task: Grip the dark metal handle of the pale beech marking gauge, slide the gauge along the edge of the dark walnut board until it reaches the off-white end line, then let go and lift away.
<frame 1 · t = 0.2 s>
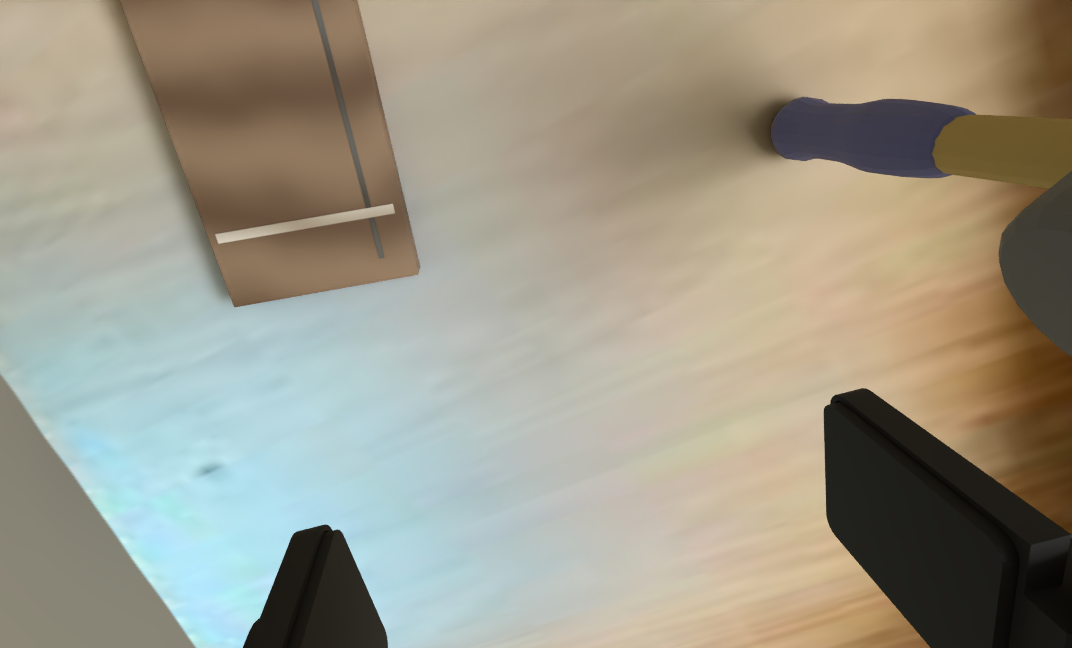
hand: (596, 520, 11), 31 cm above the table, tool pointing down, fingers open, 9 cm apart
rubber mallet: (787, 128, 40), on the table
walnut board: (275, 87, 35), on the table
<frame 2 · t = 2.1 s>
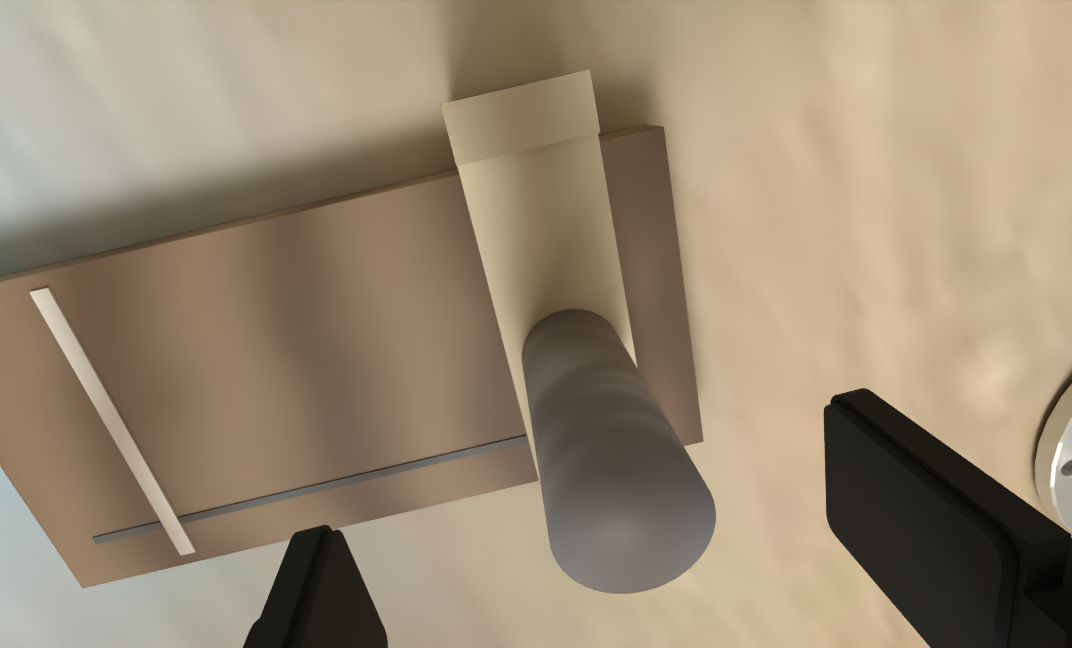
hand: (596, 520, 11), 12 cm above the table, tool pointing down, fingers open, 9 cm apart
marking gauge: (578, 367, 16), point 6 cm above the table, slide at -8.0 cm
walnut board: (354, 358, 22), on the table
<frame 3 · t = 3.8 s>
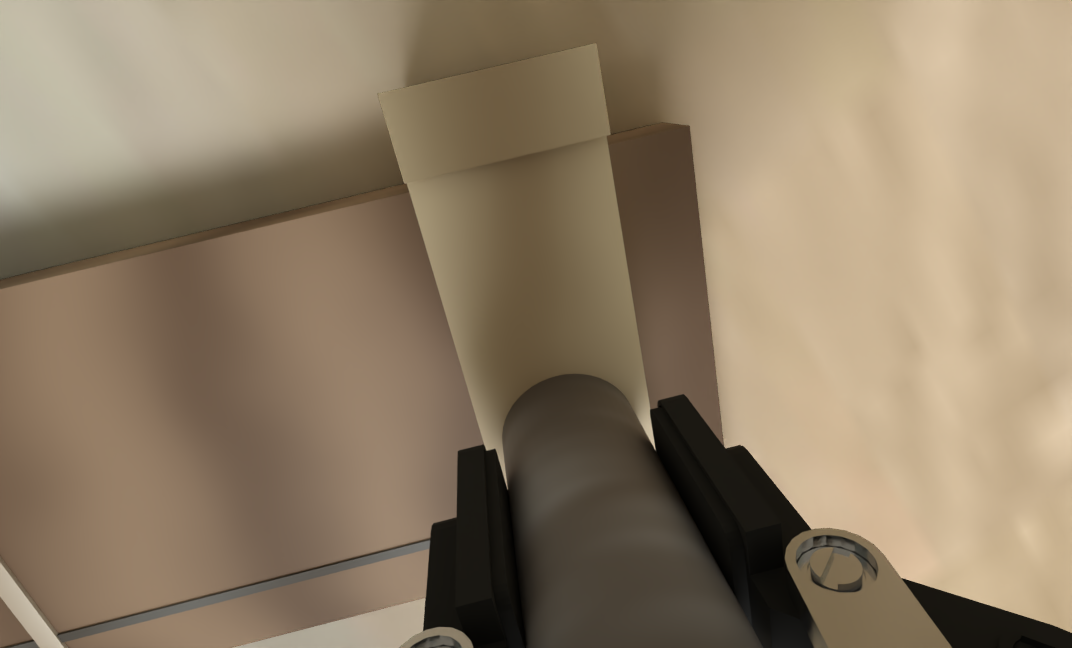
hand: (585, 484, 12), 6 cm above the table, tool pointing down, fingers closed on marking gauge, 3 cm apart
marking gauge: (581, 465, 12), point 6 cm above the table, slide at -8.0 cm, touching gripper
walnut board: (288, 422, 17), on the table
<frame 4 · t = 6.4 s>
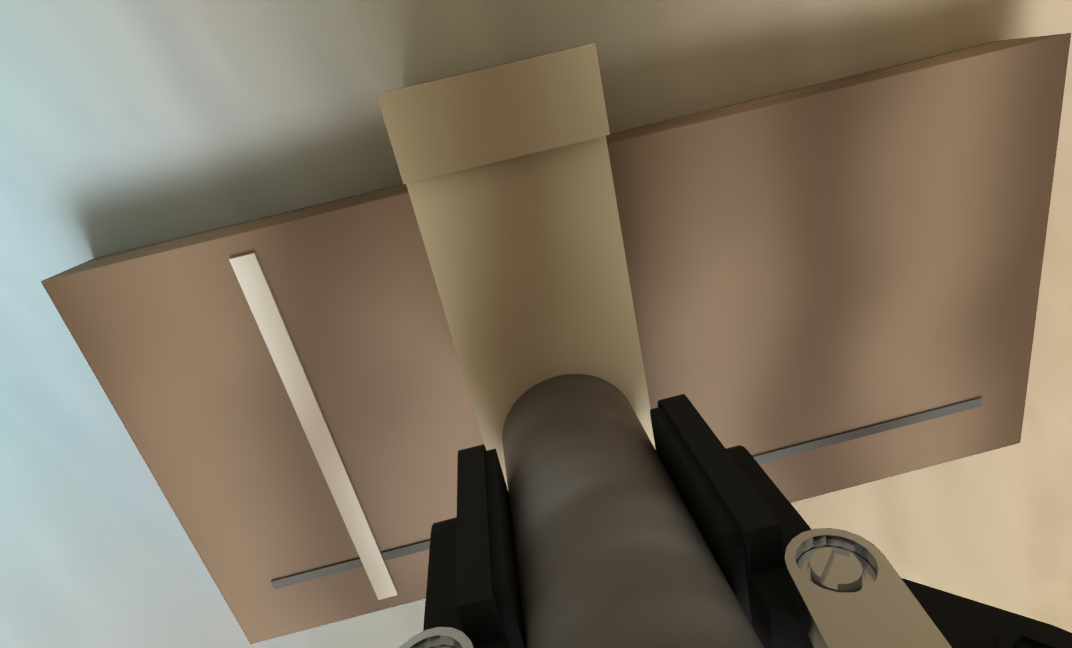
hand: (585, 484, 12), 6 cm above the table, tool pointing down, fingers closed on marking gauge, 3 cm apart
marking gauge: (581, 465, 12), point 6 cm above the table, slide at 1.6 cm, touching gripper
walnut board: (595, 346, 18), on the table
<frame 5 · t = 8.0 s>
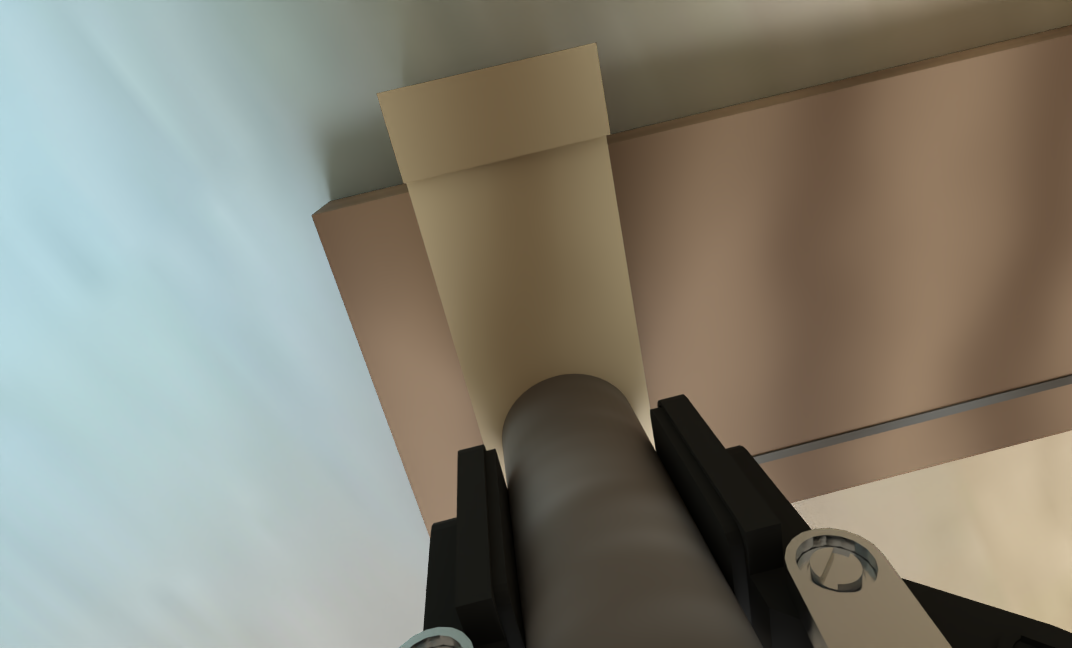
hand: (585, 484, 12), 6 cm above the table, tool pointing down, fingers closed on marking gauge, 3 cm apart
marking gauge: (581, 465, 12), point 6 cm above the table, slide at 7.9 cm, touching gripper
walnut board: (793, 297, 18), on the table
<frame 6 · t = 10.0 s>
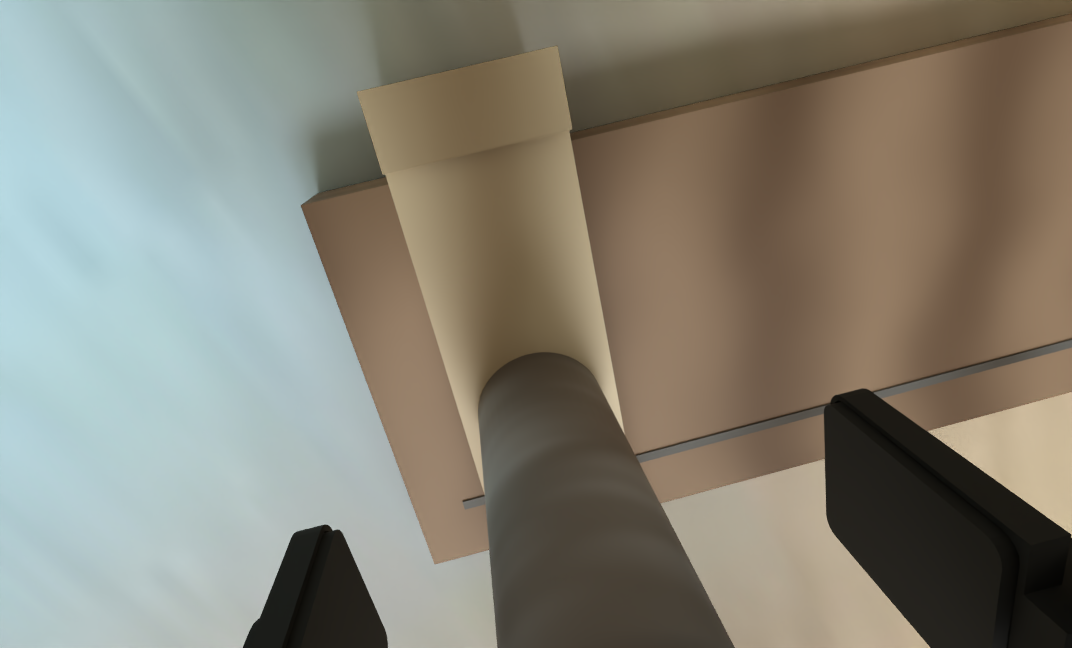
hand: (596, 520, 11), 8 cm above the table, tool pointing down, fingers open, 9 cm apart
marking gauge: (548, 434, 13), point 6 cm above the table, slide at 8.0 cm
walnut board: (756, 283, 19), on the table
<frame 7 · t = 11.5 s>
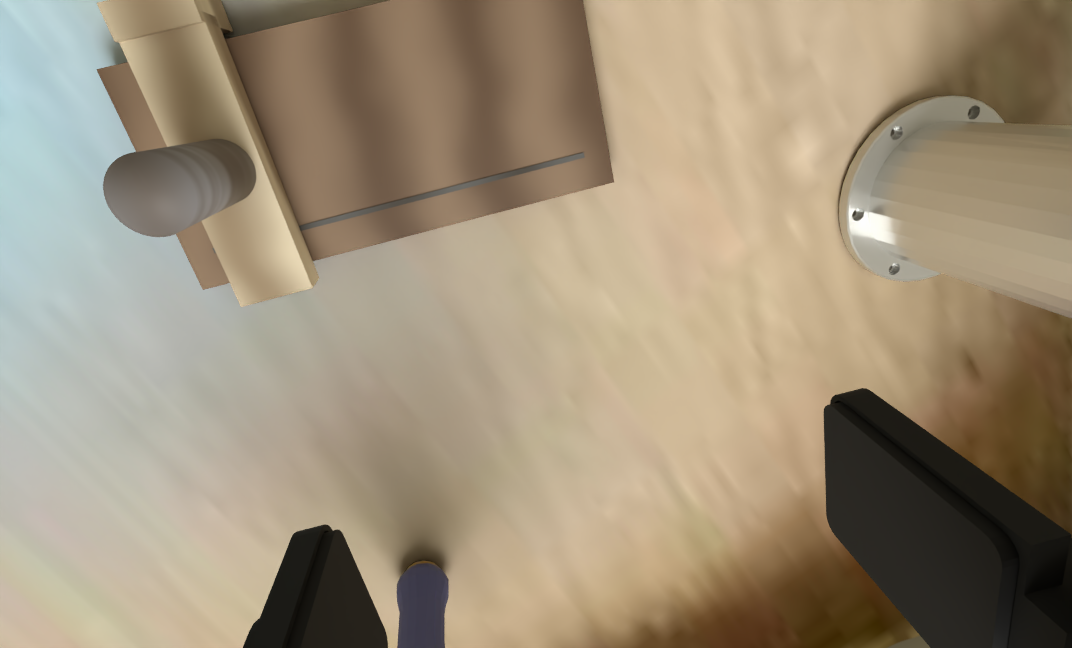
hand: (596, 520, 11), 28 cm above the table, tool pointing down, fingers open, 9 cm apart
marking gauge: (203, 164, 27), point 6 cm above the table, slide at 8.0 cm
rubber mallet: (423, 570, 46), on the table
walnut board: (383, 129, 34), on the table
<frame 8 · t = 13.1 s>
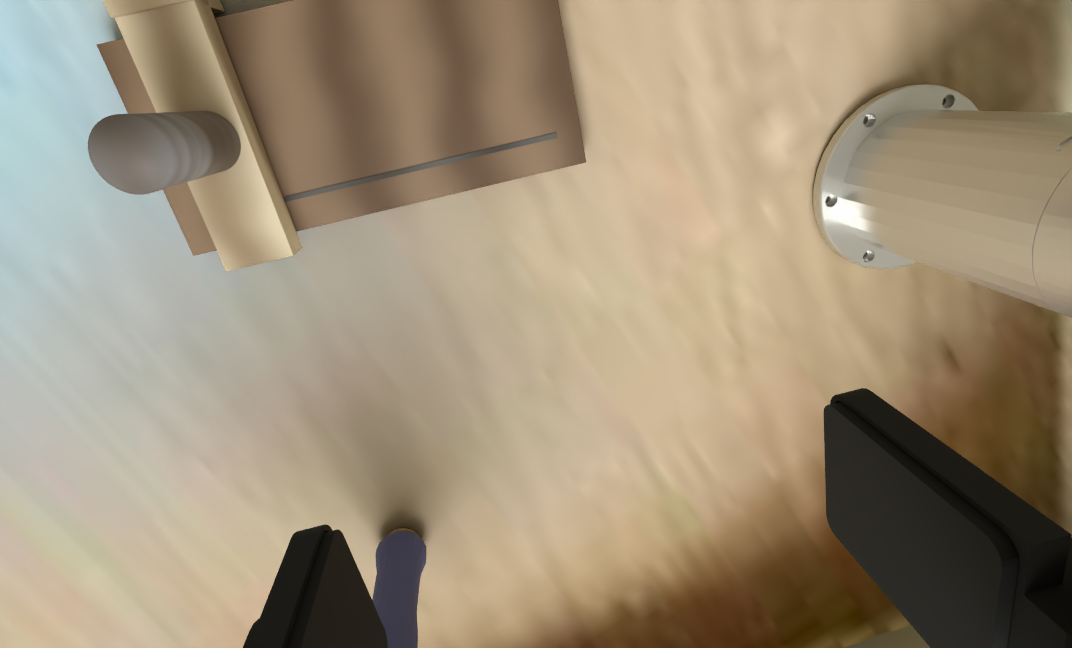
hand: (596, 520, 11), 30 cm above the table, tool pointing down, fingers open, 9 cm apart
marking gauge: (188, 133, 29), point 6 cm above the table, slide at 8.0 cm
rubber mallet: (403, 538, 48), on the table
walnut board: (365, 107, 36), on the table
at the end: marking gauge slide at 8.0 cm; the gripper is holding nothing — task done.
